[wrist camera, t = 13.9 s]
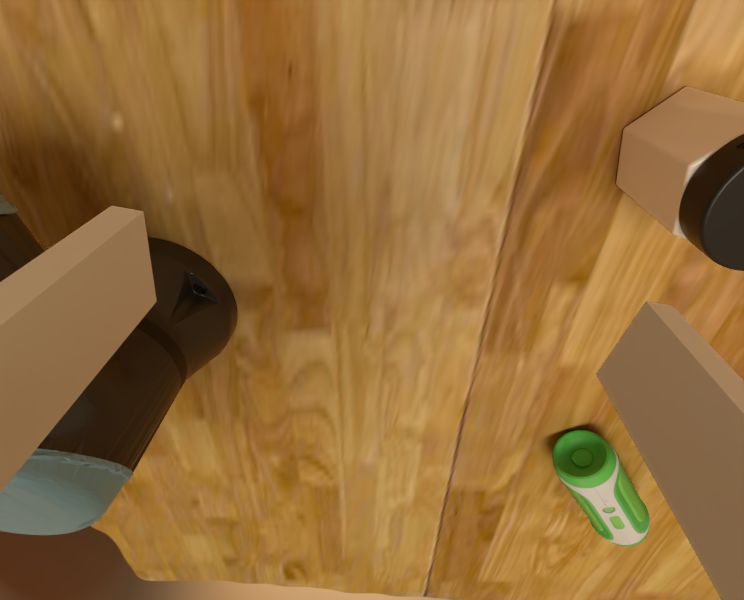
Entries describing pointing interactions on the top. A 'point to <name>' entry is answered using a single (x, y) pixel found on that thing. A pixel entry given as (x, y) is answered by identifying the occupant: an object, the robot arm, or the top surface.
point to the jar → (690, 170)
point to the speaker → (601, 487)
